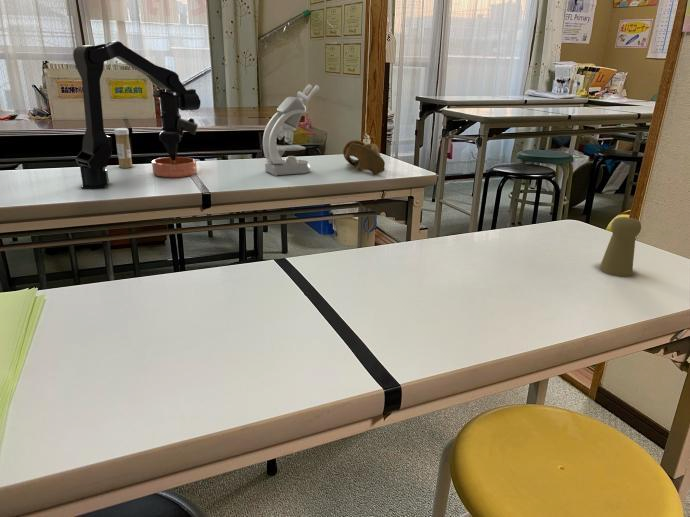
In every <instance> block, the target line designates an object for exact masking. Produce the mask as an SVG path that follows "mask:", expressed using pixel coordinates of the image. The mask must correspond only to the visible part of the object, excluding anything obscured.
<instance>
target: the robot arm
mask: <svg viewBox="0 0 690 517" xmlns="http://www.w3.org/2000/svg"><path fill="white" fill-rule="evenodd" d="M72 57H73V61H74V64H75V68H76V70H77V73H78V74H79V76H80V78H81V86H82V97H83V107H84V118H85V128H86V129H85V132H84V134H83V137H82V146H81V148H82V149H81V151H80V152H79V153H78V154H77V156H76V157H75V161H76V163H77V165H78V166H80V167H79V170H80V175H81V176H80V177H81V183H82V186H81V189H106V187H107V186H108V185H109V184H110V179H109V172H108V170H107V169H106V168H107V167H108V163H109V159H110V158H111V157H112V151H114V147H113V136H110V135H107V133H106V132H105V126H104V115H103V101H102V91H101V78H102V75H103V72H104V66H105V62H108V61H110V60H112V59H115V58H116V59H117V60H119V61H121V62H123V63H124V64H126V65H127V66H130V67H131V68H133V69H135V70H136V71H138V72H140V73H141V74H143V75H144V76H146V78H148V80H149V81H150V82H151V83H152V84H153V85H155V86H156V87H157V88H158V89H156V91H155V92H153V94H152V97H154V98H159V107H160V116H159V117H160V119H161V132H160V133H159V135H158V138H159V142H161V143H162V145H163V146H164V148H165V150H166V153H167V154H168V157H170V158H171V160H175V158H176V157H178V156H177V154H178V148H179V147H178V146H179V143H180V142H181V141H182V138H183V135H184V132H187V133H190V134H191V135H192V136H193V135H194V136H195V135H196V134H197V133H196V132H197V130H198V126H199V124H198V123H196V122H195V119H194V118H192V117H189V118H188V119H184V118H182V114H180V111H184V112H185V111H197V110H200V107H201V99H200V96H199V95H198V93H197V89H194V88H189V89H187V88H186V87H185V86H184V85H183V83H182V81H181V80H180V76H179V74H178V73H177V72H175V71H173V70H171V69H168V68H165V67H162V66H159V65H157V64H155V63H153V62H151V61H150V60H148V58H145V57H144V56H141V55H140V54H139V53H137V52H135V51H134V50H132V49H131V48H130V47H128V46H126V45H124V44H123V43H122V42H121V41H119V40H118V41H117V40H115V41H114V40H113V41H112V40H111V41H107V42H105V43H101V44H96V45H79V46H76V48H74V49H73V52H72ZM163 90H164V91H163ZM174 93H175V94H174Z"/></svg>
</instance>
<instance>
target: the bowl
mask: <svg viewBox="0 0 690 517" xmlns="http://www.w3.org/2000/svg"><path fill="white" fill-rule="evenodd" d="M151 166H152V173H153V174H154V175H156V176H158V177H161V178H185V177H190V176H193V175H195V174H196V173H197V172H198V168H197V159H196V158H192V157H187V156H176V158H175V164H171V159H170V156H168V157H158V158H155V159H153V160H152V161H151Z"/></svg>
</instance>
